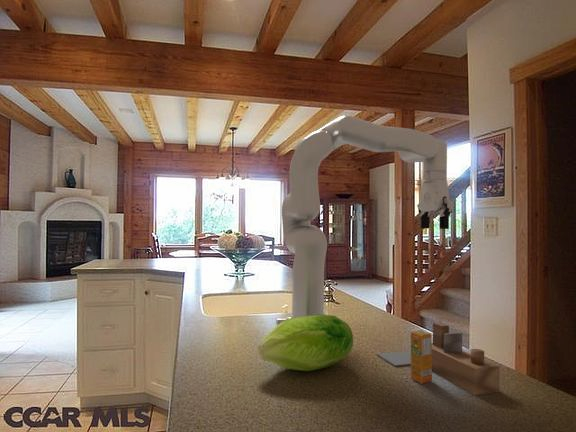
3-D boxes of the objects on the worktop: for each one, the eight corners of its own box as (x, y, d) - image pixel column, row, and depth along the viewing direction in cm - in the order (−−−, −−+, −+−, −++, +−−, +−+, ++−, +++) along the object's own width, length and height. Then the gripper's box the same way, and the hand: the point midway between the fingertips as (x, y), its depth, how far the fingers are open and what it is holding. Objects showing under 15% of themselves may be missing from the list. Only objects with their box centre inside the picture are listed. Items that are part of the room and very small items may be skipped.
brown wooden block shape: (474, 395, 76) (475, 342, 76) (422, 365, 91) (422, 322, 91) (499, 391, 77) (499, 340, 78) (443, 363, 93) (444, 320, 93)
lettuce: (248, 366, 89) (249, 314, 89) (335, 353, 98) (335, 306, 98) (270, 389, 77) (271, 329, 77) (366, 372, 87) (367, 318, 87)
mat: (395, 366, 90) (395, 365, 90) (377, 355, 97) (377, 353, 97) (425, 363, 92) (425, 361, 92) (405, 352, 100) (405, 351, 100)
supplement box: (408, 378, 83) (409, 330, 83) (421, 376, 85) (421, 329, 85) (420, 384, 80) (421, 335, 80) (433, 381, 82) (433, 333, 82)
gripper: (409, 179, 140) (409, 228, 140) (442, 174, 124) (442, 229, 123) (427, 180, 142) (427, 228, 142) (462, 175, 126) (462, 229, 126)
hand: (434, 228), depth 133 cm, fingers open, 9 cm apart
